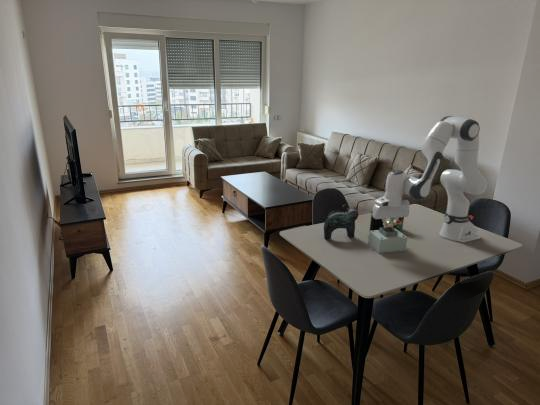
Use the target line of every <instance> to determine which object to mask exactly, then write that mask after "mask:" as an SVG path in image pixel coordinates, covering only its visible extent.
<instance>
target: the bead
mask: <svg viewBox="0 0 540 405" xmlns="http://www.w3.org/2000/svg"><path fill="white" fill-rule="evenodd" d="M386 222H387V226H385V227H387V228H392V227H393V222H391V221H390V220H386Z"/></svg>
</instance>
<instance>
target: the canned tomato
mask: <svg viewBox="0 0 540 405" xmlns="http://www.w3.org/2000/svg"><path fill="white" fill-rule="evenodd" d="M394 219H395V218H389V221H391V222H392V221H394ZM404 220H405V217H399V219H398V221H397V222H396V225H393V227H392V228H393V229H397V230H398V231H399V232H402V231H403V226H404Z"/></svg>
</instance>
